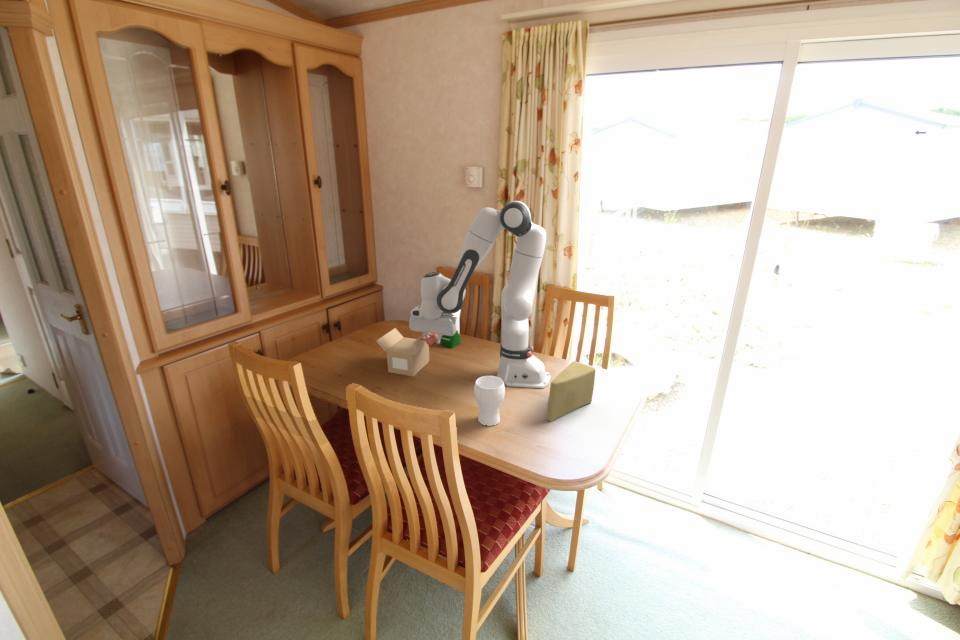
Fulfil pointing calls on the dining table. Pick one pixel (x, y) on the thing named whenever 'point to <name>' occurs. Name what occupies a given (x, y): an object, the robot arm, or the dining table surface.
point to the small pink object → (423, 342)
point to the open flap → (389, 339)
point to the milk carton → (455, 339)
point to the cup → (489, 399)
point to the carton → (406, 358)
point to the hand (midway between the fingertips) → (433, 342)
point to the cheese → (570, 390)
